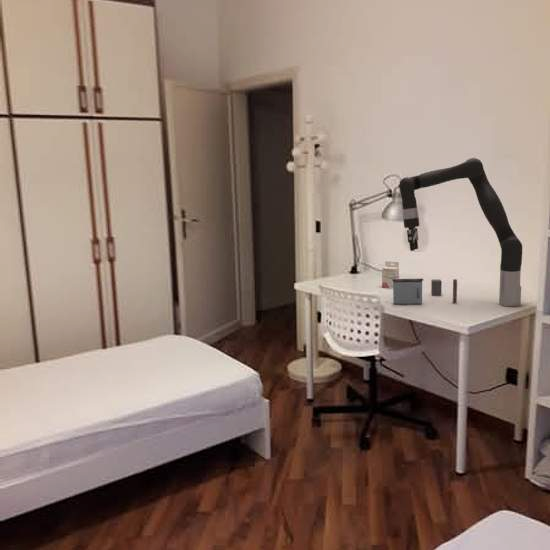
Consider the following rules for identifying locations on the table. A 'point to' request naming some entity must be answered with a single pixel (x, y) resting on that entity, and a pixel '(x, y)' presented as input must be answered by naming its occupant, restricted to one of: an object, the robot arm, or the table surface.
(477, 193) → the robot arm
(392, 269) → the ink cartridge box
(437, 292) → the block
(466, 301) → the table surface
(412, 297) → the grey block
